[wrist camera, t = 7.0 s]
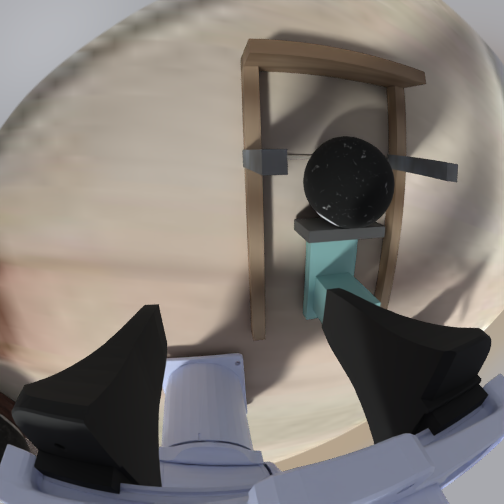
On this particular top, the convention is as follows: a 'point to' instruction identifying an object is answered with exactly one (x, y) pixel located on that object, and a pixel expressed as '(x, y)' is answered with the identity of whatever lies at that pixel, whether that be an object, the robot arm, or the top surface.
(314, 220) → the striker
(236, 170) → the top surface
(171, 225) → the top surface
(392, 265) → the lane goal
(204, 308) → the top surface
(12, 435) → the black ball on stand
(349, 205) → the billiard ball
